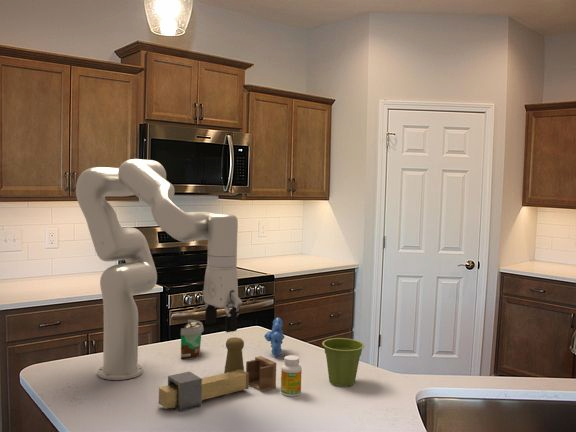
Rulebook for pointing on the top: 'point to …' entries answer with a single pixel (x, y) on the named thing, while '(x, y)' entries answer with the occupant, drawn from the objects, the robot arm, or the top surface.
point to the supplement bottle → (291, 376)
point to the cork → (234, 355)
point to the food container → (191, 339)
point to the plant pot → (342, 360)
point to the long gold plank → (208, 387)
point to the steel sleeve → (187, 390)
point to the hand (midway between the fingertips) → (220, 327)
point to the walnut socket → (261, 373)
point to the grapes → (276, 336)
